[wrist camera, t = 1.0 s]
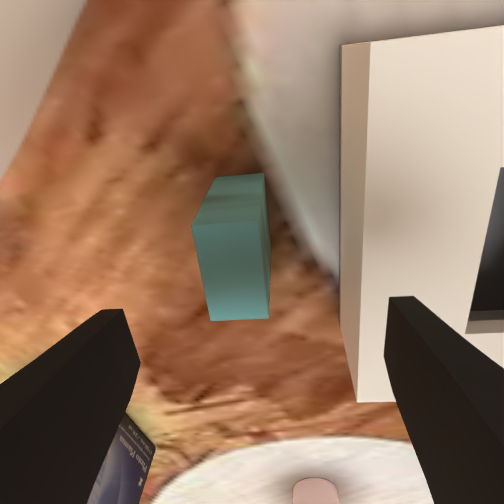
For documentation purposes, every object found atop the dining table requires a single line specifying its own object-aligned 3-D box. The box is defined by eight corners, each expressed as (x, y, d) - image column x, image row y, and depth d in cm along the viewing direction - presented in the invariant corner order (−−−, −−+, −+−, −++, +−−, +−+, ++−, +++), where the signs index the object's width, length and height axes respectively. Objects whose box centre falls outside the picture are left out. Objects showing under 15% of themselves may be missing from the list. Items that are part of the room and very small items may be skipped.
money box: (547, 312, 21) (634, 396, 16) (338, 321, 23) (357, 402, 17) (651, 6, 14) (866, -19, 9) (339, 45, 16) (370, 42, 10)
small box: (162, 447, 30) (112, 620, 21) (99, 462, 32) (26, 629, 23) (84, 359, 26) (-23, 528, 17) (15, 382, 27) (-116, 548, 18)
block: (271, 250, 21) (268, 318, 15) (227, 253, 21) (210, 320, 16) (264, 172, 19) (258, 220, 13) (215, 176, 19) (191, 225, 14)
